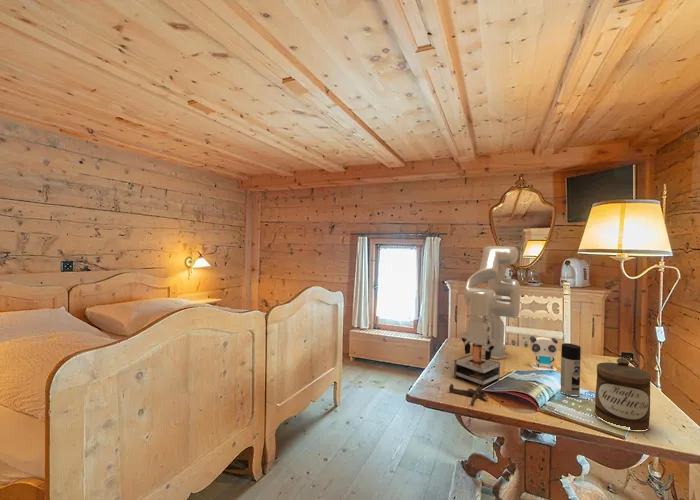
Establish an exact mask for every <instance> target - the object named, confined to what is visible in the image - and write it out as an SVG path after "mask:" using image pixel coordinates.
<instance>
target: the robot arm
mask: <svg viewBox="0 0 700 500" xmlns="http://www.w3.org/2000/svg"><path fill="white" fill-rule="evenodd" d="M518 258H519V250H518V249H517V247H516V246H509V245H508V246H506V245H505V246H504V245H489V246H484V247H483V249H482V258H481V261H480V266H479V270H478V271H476V272H474V273H473V274H471V276H470V277H469V278H467V280H466V283H465V287H464V291H463V300H464V301H465V302H466V303H468V304H470V305H469V319H468V320H467V324H466V330H465V332H461V333H460V334H459V336H460V338H461V341H462V343H463V345H464V353H465V355H469V354H470V353H471V343H472V344H473V343H476V344H478V345H482V347H484V348H483V349H482V357H484V358H485V360H491V359H495V360H504V359H506V358H507V354H506V353H505V352H504V351H505V350H506V346H505V345H504V344H505V343H504V340H505V339H504V338H505V325H504V324H505V323H504V321H503V320H502V318H501V317H504V318H505V317H506V318H512V319H513V318H517V317H518V316H519V315H520V309H521V308H520V306H521V285H520V282H519V280H517V279H514V278H506V268H505V265H507V266H508V265H510V266H511V265H513V264H515V263H516V262H517V261H518ZM484 282H487V288H482V287H481V288H480V287H479V288H478V287H475V286H477V285H478V284H481V283H484ZM499 296H501V297H499ZM502 297H509V298H502Z"/></svg>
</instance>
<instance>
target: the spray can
mask: <svg viewBox="0 0 700 500" xmlns="http://www.w3.org/2000/svg"><path fill="white" fill-rule="evenodd" d="M581 348H582V347H581V346H580V345H578V344H575V343H568V342H567V343H566V342H565V343H562V344H561V351H560V352H561V354H560V355H561V356H560V385H561V391H560V393H561V392H563V393H565V394H568V395H579V396H580V393H581V392H580V391H581V389H580V388H581V387H580V385H581V359H582V357H581V353H582V351H581V350H582V349H581ZM563 393H562V394H563ZM565 394H564V395H565Z"/></svg>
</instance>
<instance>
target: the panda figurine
mask: <svg viewBox="0 0 700 500" xmlns="http://www.w3.org/2000/svg"><path fill="white" fill-rule="evenodd" d="M529 341H530V342H531V343H530V344H529V345H530V350H531V352H532V353H533V354H534V356H535V362H533V363H530V367H531V368H532V369H534V370H537V371H540V370H554V371H556V372H557V370H558V369H557V368H556V367H555V366H554V365H553V363H554V362H555V356H556V354H557V353H558V348H557V345H556V344H558V343H559V342H558V340H557V339H556V338H555V337H552V338H551V339H550V338H548V337H536V336H534V335H532V336H530V337H529Z"/></svg>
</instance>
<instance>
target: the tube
mask: <svg viewBox="0 0 700 500" xmlns="http://www.w3.org/2000/svg"><path fill="white" fill-rule="evenodd" d="M482 351H483V346H482V345H478V344H476V343H472V362H473V363H476V364H479V365H480V364H482V358H483V355H482ZM472 374H475V375H478V376H481V372H478V371H475V370H472Z"/></svg>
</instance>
